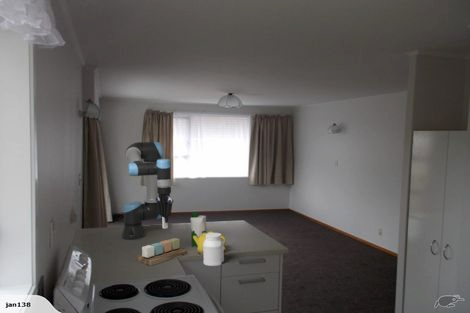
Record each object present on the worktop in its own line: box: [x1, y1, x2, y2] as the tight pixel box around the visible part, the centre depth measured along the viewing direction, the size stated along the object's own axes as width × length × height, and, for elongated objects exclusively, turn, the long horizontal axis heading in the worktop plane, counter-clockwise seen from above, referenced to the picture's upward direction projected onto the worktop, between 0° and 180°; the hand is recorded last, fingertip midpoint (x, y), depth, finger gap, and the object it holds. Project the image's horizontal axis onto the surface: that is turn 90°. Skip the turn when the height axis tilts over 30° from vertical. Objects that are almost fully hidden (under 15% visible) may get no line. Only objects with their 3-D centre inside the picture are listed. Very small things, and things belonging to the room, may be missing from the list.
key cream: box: [141, 244, 154, 258], centre depth 200 cm, size 5×5×5 cm
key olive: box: [167, 237, 181, 250], centre depth 214 cm, size 5×5×5 cm
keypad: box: [135, 247, 188, 267], centre depth 207 cm, size 14×25×2 cm, turn 139°
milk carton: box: [190, 212, 207, 247], centre depth 229 cm, size 9×9×20 cm
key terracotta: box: [159, 239, 172, 252], centre depth 209 cm, size 5×5×5 cm
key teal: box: [150, 242, 163, 255], centre depth 205 cm, size 5×5×5 cm
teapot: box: [193, 231, 227, 254], centre depth 216 cm, size 20×12×12 cm, turn 73°
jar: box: [202, 232, 225, 267], centre depth 197 cm, size 12×10×15 cm
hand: (165, 228), depth 209 cm, fingers closed
